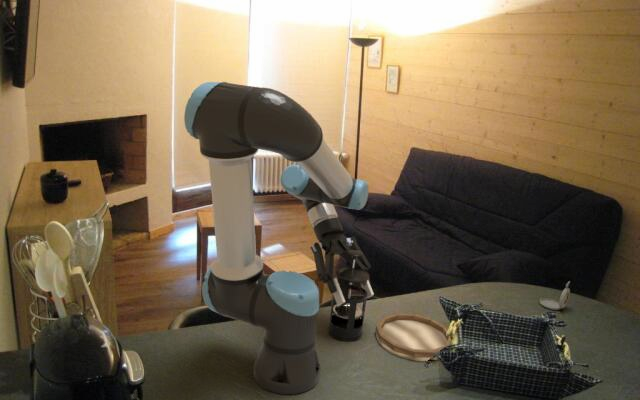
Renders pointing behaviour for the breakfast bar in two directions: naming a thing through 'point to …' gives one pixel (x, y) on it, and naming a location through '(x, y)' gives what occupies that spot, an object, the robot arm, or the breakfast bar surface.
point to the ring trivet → (412, 336)
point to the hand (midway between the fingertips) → (356, 300)
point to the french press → (346, 311)
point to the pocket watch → (554, 304)
